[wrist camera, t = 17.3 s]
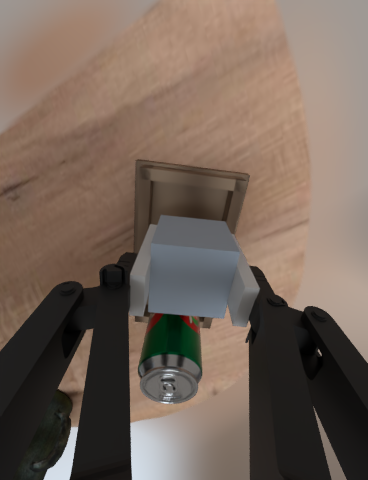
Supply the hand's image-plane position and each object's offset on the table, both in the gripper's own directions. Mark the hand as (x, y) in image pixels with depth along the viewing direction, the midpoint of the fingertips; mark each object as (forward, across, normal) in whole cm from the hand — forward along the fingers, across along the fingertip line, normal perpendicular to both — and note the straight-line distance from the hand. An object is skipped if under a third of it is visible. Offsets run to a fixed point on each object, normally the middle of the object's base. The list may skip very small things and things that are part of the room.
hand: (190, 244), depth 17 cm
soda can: (+6, 0, -9) cm, 11 cm away
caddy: (+7, 0, -4) cm, 9 cm away
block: (0, 0, 0) cm, 1 cm away
